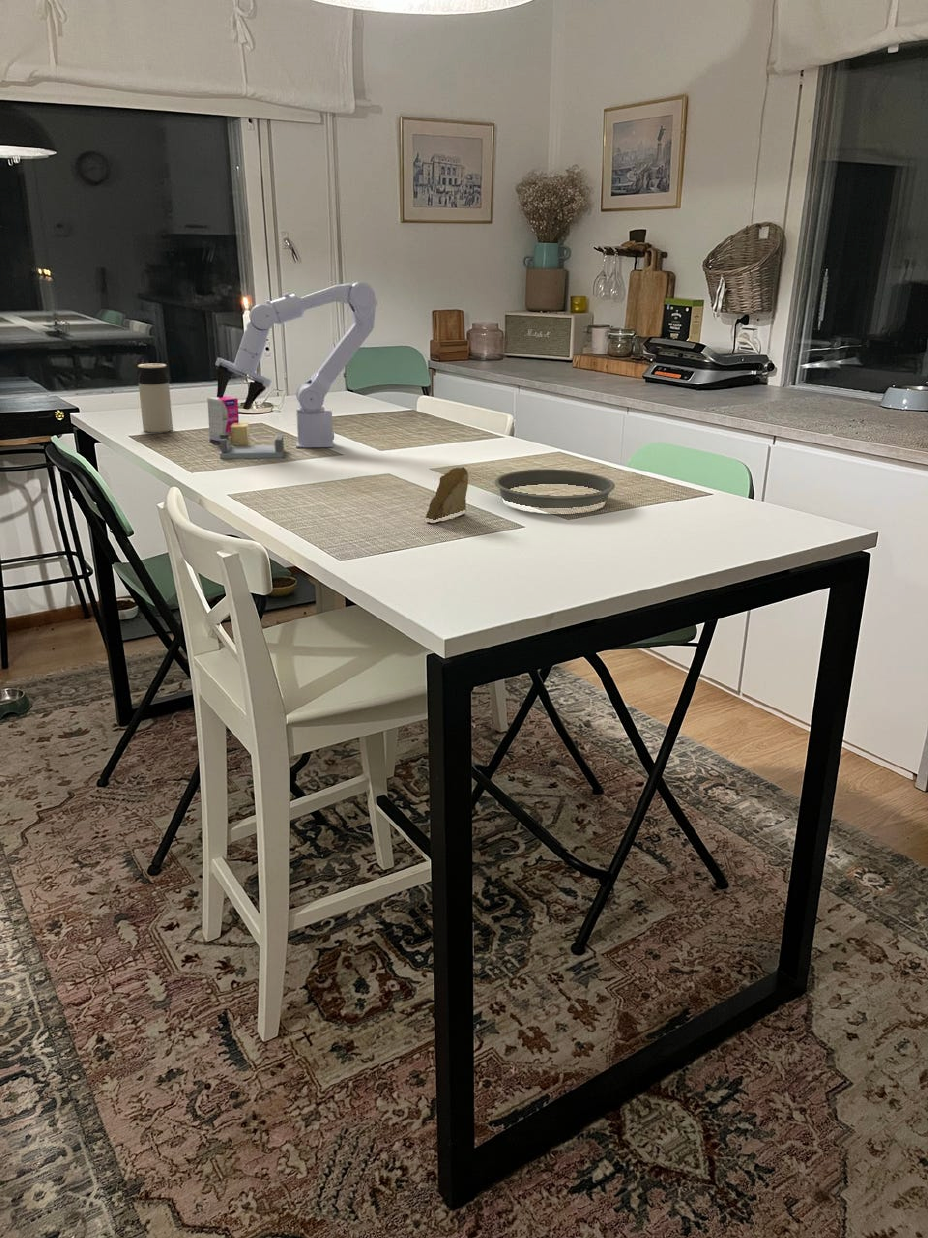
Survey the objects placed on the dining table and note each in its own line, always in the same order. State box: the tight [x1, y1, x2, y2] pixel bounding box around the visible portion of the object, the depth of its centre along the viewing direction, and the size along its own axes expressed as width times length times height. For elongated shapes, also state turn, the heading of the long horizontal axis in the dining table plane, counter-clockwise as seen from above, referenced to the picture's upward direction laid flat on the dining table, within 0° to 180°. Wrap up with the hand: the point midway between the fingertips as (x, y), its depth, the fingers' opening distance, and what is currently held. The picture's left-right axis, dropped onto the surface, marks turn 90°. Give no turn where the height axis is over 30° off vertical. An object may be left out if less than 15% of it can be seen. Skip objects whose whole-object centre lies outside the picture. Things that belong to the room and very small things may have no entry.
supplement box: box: [207, 395, 240, 444], centre depth 253 cm, size 6×6×12 cm
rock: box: [425, 466, 469, 520], centre depth 183 cm, size 11×9×10 cm
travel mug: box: [137, 363, 174, 433], centre depth 266 cm, size 8×8×18 cm
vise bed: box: [219, 433, 285, 459], centre depth 239 cm, size 15×10×4 cm, turn 98°
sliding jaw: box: [219, 433, 232, 452], centre depth 237 cm, size 2×9×4 cm, turn 8°
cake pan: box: [493, 468, 616, 508], centre depth 196 cm, size 25×25×4 cm
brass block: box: [231, 422, 251, 446], centre depth 246 cm, size 4×6×6 cm, turn 8°
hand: (232, 403), depth 243 cm, fingers open, 7 cm apart
